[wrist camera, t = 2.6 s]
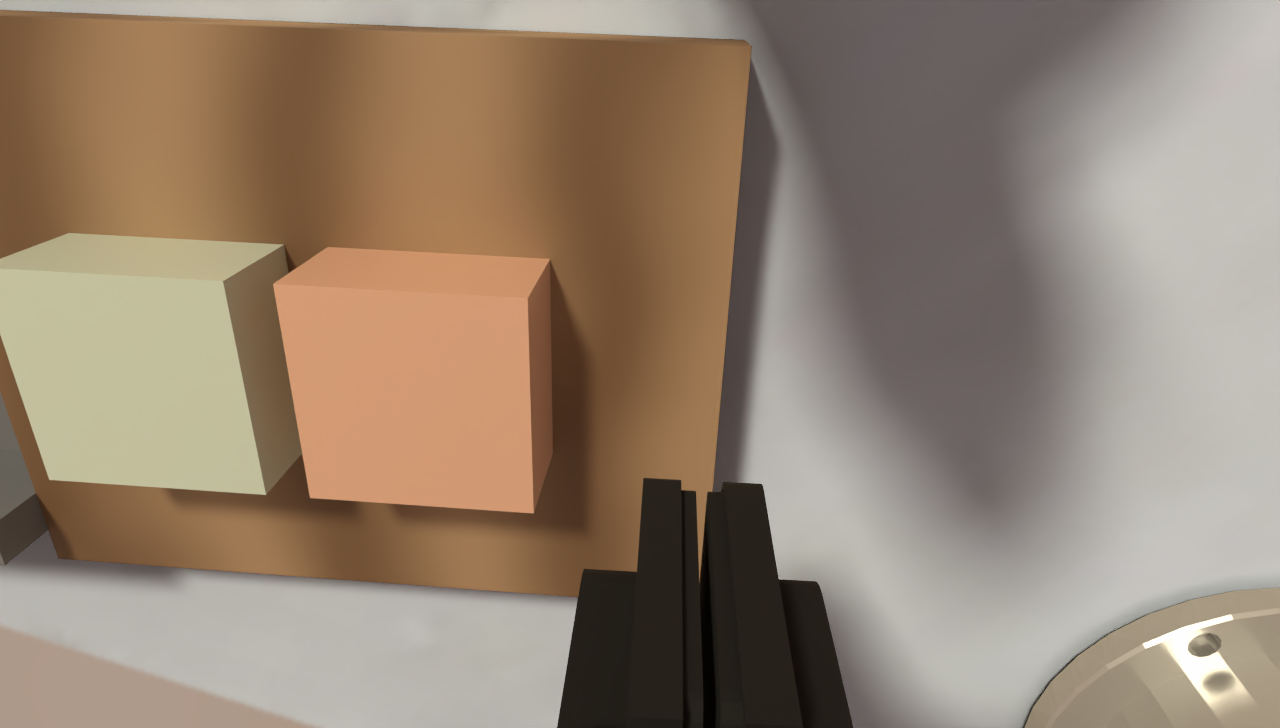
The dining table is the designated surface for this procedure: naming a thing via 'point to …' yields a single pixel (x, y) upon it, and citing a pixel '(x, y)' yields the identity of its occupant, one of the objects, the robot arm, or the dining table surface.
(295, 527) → the walnut plate
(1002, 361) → the dining table surface
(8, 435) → the box
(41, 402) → the tile
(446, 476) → the tile
